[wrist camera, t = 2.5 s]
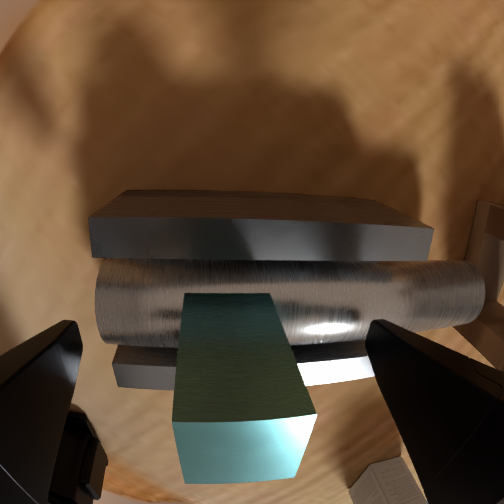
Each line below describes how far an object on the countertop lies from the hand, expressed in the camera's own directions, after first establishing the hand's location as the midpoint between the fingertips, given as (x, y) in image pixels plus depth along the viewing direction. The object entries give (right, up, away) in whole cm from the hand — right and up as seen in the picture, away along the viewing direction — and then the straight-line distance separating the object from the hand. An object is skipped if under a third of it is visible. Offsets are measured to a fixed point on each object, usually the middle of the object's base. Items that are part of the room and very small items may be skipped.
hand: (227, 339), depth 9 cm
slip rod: (+3, +1, +4) cm, 5 cm away
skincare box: (+14, -21, +16) cm, 29 cm away
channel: (+1, +2, +5) cm, 6 cm away
